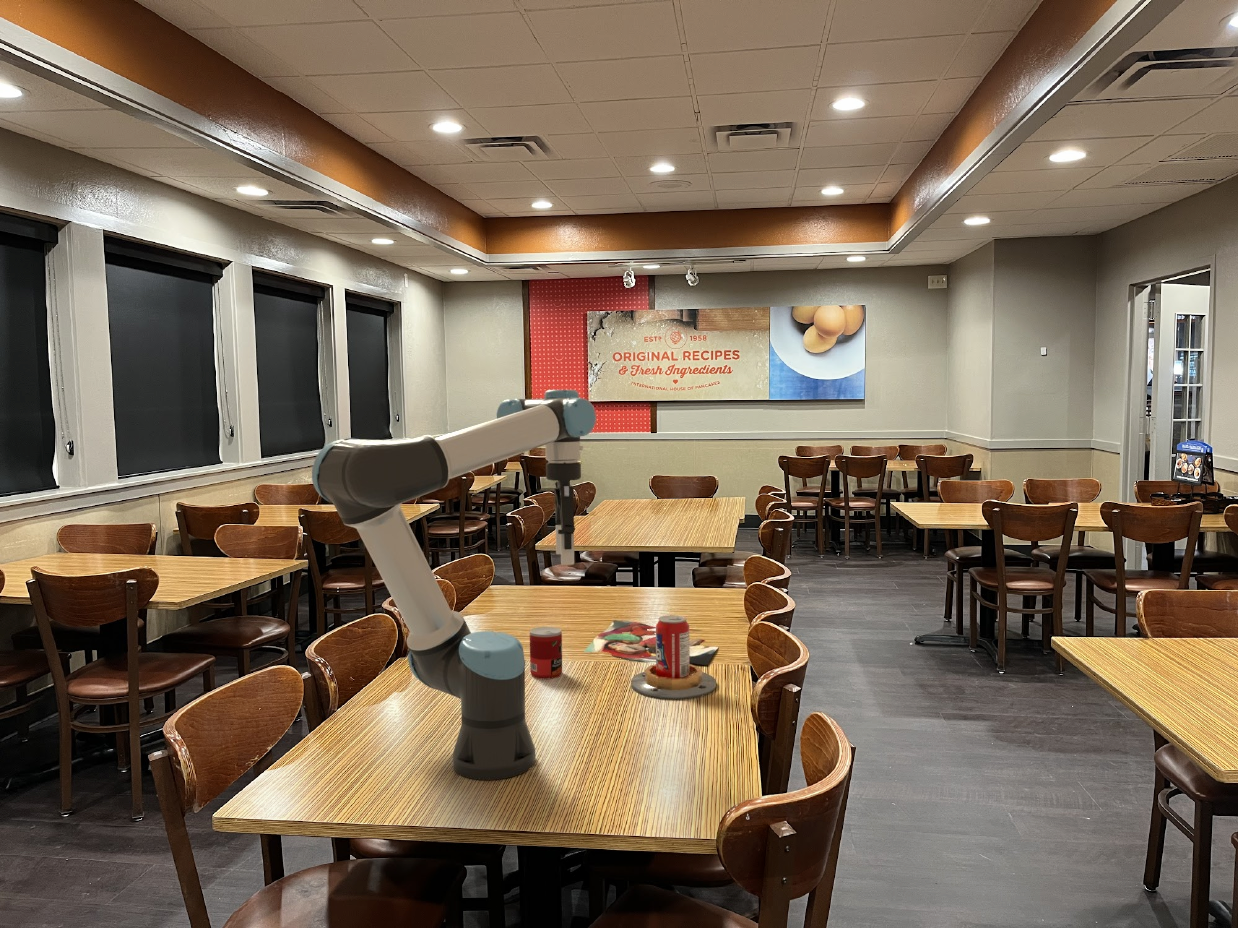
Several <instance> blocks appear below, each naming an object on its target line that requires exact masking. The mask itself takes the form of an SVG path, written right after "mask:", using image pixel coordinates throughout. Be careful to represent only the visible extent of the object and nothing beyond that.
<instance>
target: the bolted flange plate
mask: <svg viewBox="0 0 1238 928" xmlns="http://www.w3.org/2000/svg"><path fill="white" fill-rule="evenodd" d="M716 681H717V680H716V678H715V677H713V676H712V675H711V674H709V673H706V672H703V671H702V669H701V668H700V667H699V666H697V665H695V664H692V663H690V676H688V677H682V678H667V677H659V676H656V663H655V664H652V665H651V664H650V665H648V667H647V668H644V671H642V672H639V673H637V674H635V675H633V677H632V678H631V679H630V687H631V689H632V690H633V691H634V692H636V693H638V694H640V695H641V696H645V697H648V698H653V697H654V698H653V699H661V700H688V699H689V700H690V699H697V698H700V697H703V696H706V695H708V694H711V693H712V692H714V691H715V689H716V688H717V682H716Z"/></svg>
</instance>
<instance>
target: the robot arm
mask: <svg viewBox="0 0 1238 928" xmlns="http://www.w3.org/2000/svg"><path fill="white" fill-rule="evenodd" d="M596 422H597V415H596V410H595V408H594V406H593V403H591V402H590V401H589V400H588V399H586V398H581V397H580V394H579V392H578V391H577V390H575V389H548V390H546V391H545V392H544V398H514V399H512V398H511V399H505V400H503V401H502V402H501V403H500V404H499V405H498V407H497V410H496V418H495V419H492V420H489V421H485V422H482V423H479V424H475V425H472V426H470V427H466V428H462V429H461V430H457V431H454V432H453V431H452V432H450V433H447V434H444V435H441V436H438V437H434V436H432V435H430V434H425V435H421V436H418V437H414V438H408V439H390V440H387V439H386V440H385V439H359V438H355V437H348V438H347V437H346V438H344V439H343V438H342V439H338V440H334V441H332V442H330V443H328V444H327V445H325V446H323V448H322V449H321V450H320V451H319V452H318V453H317V455H316V456H315V460H314V462H313V465H312V468H311V480H312V484H313V488H314V489H315V492H317V494H319V496H320V497H321V498H323V499H324V500H325V501H327V502H329V503H333V506H334V507H335V510H336V512H337V514H338V516H339V517H340V519H341V521H342V522H343V525H344V526H347V527H351V528H353V529H356V531H357V533H358V534H359V536H360V538H361V540H362V542H363V545H364V546H365V548H366V550H367V552H368V553H369V555H370V558H371V559H372V561H373V563H374V565H375V567H376V569H377V571H378V574H379V575H380V577H381V579H382V580H383V582H384V585H385V587H386V588H387V591H388V592H389V594H390V596H391V599H392V600H393V602H394V604H395V606H396V608H397V610H398V612H399V613H400V615H401V617H402V620H403V621H404V623H405V625H406V627H407V629H408V631H409V633H408V636H407V638H406V645H407V647H408V649H409V652H408V654H407V661H408V666H409V668H410V670H411V673H412V675H414V677H415V678H416V679H417V680H419V682H421V683H422V684H423V685H424V686H427V687H428V688H430V689H433V690H437V691H440V692H442V693H445V694H448V695H450V696H452V697H455V698H457V699H460V701H461V702H460V706H461V707H460V711H461V724H460V728H459V732H458V736H457V739H456V742H455V746H454V748H453V753H452V768H453V771H454V772H455V773H456V774H458V775H460V776H462V777H465V778H467V779H473V780H480V781H482V780H484V781H491V780H502V779H507V778H508V779H509V778H512V777H515V776H518V775H521V774H523V773H525V772H528V771H529V770H530V769H531V768H533V766H535V764H536V748H535V743H534V741H533V738H532V735H531V733H530V730H529V727H528V725H527V724H528V723H527V721H526V701H525V700H526V681H525V680H526V676H525V674H526V672H525V671H526V670H525V669H526V660H525V653H524V646H523V644H522V643H521V641H520V639H518V638H517V637H515V636H513V635H511V634H509V633H506V632H502V631H501V632H500V631H497V632H495V631H493V630H483V631H477V632H476V631H475V632H471V630H470V628H469V625H468V624H467V622H466V619H465V618H464V616H463V614H462V613H461V612H459V611H455V610H452V609H451V608H450V606H449V604H448V602H447V599H446V598H445V595H444V593H443V591H442V589H441V587H440V585H439V583H438V581H437V579H436V577H435V575H434V573H433V571H432V569H431V567H430V565H429V563H428V560H427V559H426V557H425V554H424V552H423V550H422V548H421V546H420V544H419V542H418V540H417V538H416V536H415V534H414V533H413V529H412V528H411V525H410V524H409V522H408V520H407V517H406V516H405V513H404V512H403V510H402V507H401V506H402V504H404V503H407V502H409V501H412V500H415V499H417V498H420V497H422V496H424V495H427V494H430V493H432V492H435V491H436V492H437V490H440V489H443V488H446V486H447V485H448V484H449V481H450V479H451V480H452V479H454V478H456V477H459V476H463V475H464V474H468V473H470V472H473V471H476V470H479V469H481V468H484V467H487V466H490V465H493V464H495V463H499V462H501V461H505V460H506V459H507V460H508V459H509V458H512V457H515V456H518V455H520V454H523V453H525V452H529V451H531V450H535V449H536V448H540V447H542V446H545V447H544V449H545V460H546V461H548V462H547V463H546V464H545V477H546V480H548V481H552V482H553V481H555V483H554V485H555V487H554V488H553V493H554V494H553V495H554V504H555V505H554V506H555V509H554V511H555V512H554V514H555V515H554V520H555V521H554V522H555V554H556V555H560V565H561V566H564V565H565V566H566V565H567V566H568V565H571V566H572V565H575V533H574V532H575V531H576V527H575V518H574V517H575V515H574V494H575V490H574V488H573V485H571V481H577V480H580V479H581V478H582V463H580V462H579V460H581V451H583V450H584V445H581V437H584V436H588V435H589V434H590V433H591V432H592V431H593V430H594V429H595V426H596Z"/></svg>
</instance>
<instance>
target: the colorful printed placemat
mask: <svg viewBox="0 0 1238 928" xmlns="http://www.w3.org/2000/svg"><path fill="white" fill-rule="evenodd" d="M647 629H649V630H647ZM653 629H655V630H653ZM692 631H693V632H695V631H696V632H697V631H698V632H699V631H700V632H701V631H706V630H702V629H690V628H689V632H692ZM622 632H630V633H622ZM644 636H652V637H649V638H646V639H644V640H643V637H644ZM704 642H706V640H705V639H700V638H696V639H695V638H694V639H692V640H689V648H690V664H693V665H695V664H696V665H702V666H703V665H704V666H708V665H709V664H710V661H711V660H712V658H713V656H714V655H715V653H716V651H717V650H718V648H719V646H711V645H710V646H708V645H705V644H703V645H701V644H702V643H704ZM599 652H600V653H608V654H611V656H612V657H614V658H616V659H620V658H621V659H620V660H624V661H627V662H633V661H636V662H645V663H655V664H656V626H654V625H653V626H651V625H648V624H645V623H642V622H636V621H628V620H627V621H626V620H616V619H615V620H613V621H612V622H611V624H610V625H609V626H608V627H607V628H606V629H605V630H604V631H603V632H601V633H598V634H597V635H596V636H595V637H594V639H593V640H592V641H591V642H590V644H588V646H587V647H586V648H585V650H584V651H583V653H599ZM628 660H630V661H628Z"/></svg>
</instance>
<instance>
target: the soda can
mask: <svg viewBox="0 0 1238 928" xmlns="http://www.w3.org/2000/svg"><path fill="white" fill-rule="evenodd" d="M655 627H656V628H655V631H656V633H655V634H656V635H655V637H656V663H655V664H656V676H659V677H667V678H682V677H688V676H690V664H691V663H690V648H689V641H690V631H689V629H690V624H689V623H688V622H687V618H686V617H685V616H681V615H675V614H674V615H672V614H671V615H663V616H660V617H659V618H658V622H657V623H656V625H655Z"/></svg>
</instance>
